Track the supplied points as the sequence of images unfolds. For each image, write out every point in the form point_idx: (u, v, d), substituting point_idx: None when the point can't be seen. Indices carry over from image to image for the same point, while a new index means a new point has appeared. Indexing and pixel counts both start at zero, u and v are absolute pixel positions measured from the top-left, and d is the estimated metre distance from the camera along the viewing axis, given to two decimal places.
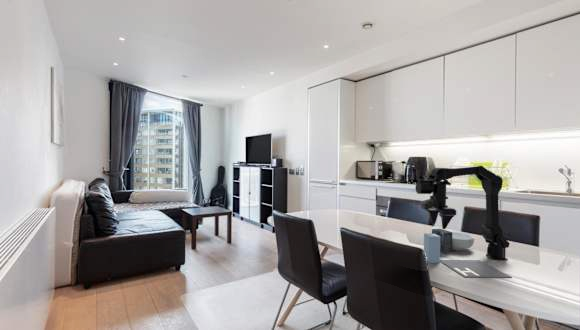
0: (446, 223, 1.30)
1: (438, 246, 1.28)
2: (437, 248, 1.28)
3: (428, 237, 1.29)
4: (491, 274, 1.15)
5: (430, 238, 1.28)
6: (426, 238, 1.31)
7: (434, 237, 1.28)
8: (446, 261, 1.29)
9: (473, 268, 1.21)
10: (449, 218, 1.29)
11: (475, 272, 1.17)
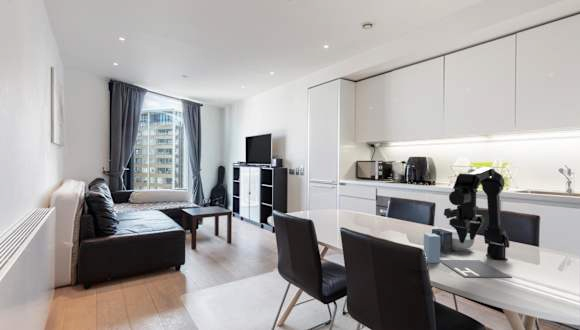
0: (462, 236, 1.13)
1: (438, 246, 1.28)
2: (437, 248, 1.28)
3: (428, 237, 1.29)
4: (491, 274, 1.15)
5: (430, 238, 1.28)
6: (426, 238, 1.31)
7: (434, 237, 1.28)
8: (446, 261, 1.29)
9: (473, 268, 1.21)
10: (464, 231, 1.12)
11: (475, 272, 1.17)
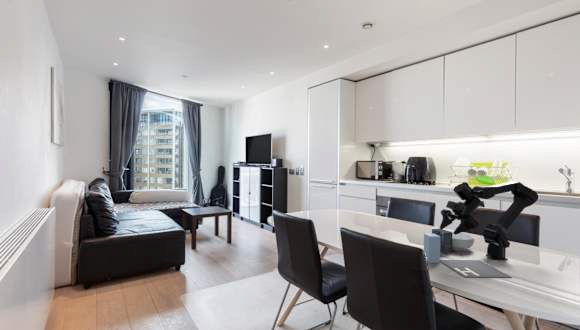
0: (460, 230, 1.26)
1: (438, 246, 1.28)
2: (437, 248, 1.28)
3: (428, 237, 1.29)
4: (491, 274, 1.15)
5: (430, 238, 1.28)
6: (426, 238, 1.31)
7: (434, 237, 1.28)
8: (446, 261, 1.29)
9: (473, 268, 1.21)
10: (466, 228, 1.26)
11: (475, 272, 1.17)
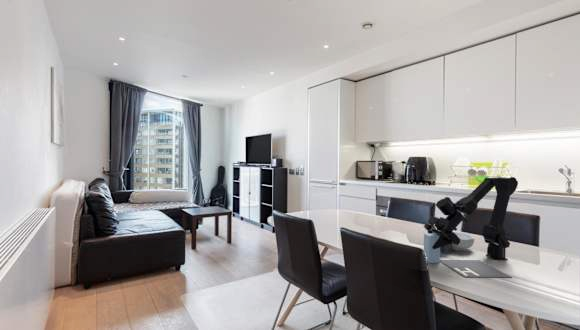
0: (439, 245, 1.27)
1: None
2: (437, 248, 1.28)
3: (428, 237, 1.29)
4: (491, 274, 1.15)
5: (430, 238, 1.28)
6: (426, 238, 1.31)
7: (434, 237, 1.28)
8: (446, 261, 1.29)
9: (473, 268, 1.21)
10: (445, 243, 1.27)
11: (475, 272, 1.17)
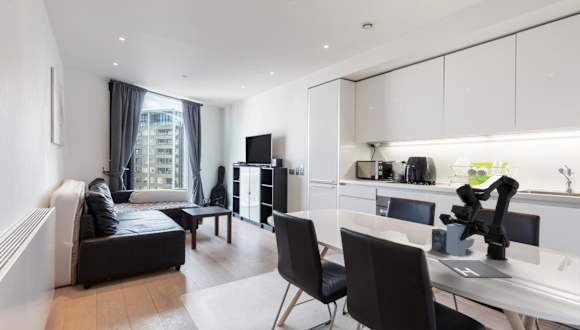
0: (466, 236, 1.18)
1: None
2: None
3: (454, 229, 1.18)
4: (491, 274, 1.15)
5: (458, 229, 1.17)
6: (451, 229, 1.20)
7: (461, 228, 1.18)
8: (446, 261, 1.29)
9: (473, 268, 1.21)
10: (471, 233, 1.18)
11: (475, 272, 1.17)
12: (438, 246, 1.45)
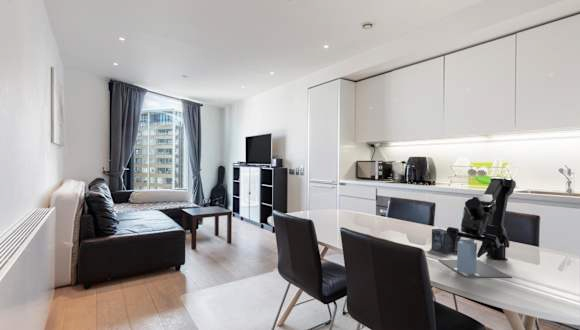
0: (483, 252, 1.13)
1: (475, 254, 1.16)
2: (475, 257, 1.16)
3: (467, 246, 1.15)
4: (491, 274, 1.15)
5: (470, 247, 1.14)
6: (463, 247, 1.16)
7: (473, 245, 1.15)
8: (446, 261, 1.29)
9: None
10: (487, 249, 1.14)
11: None
12: (438, 246, 1.45)
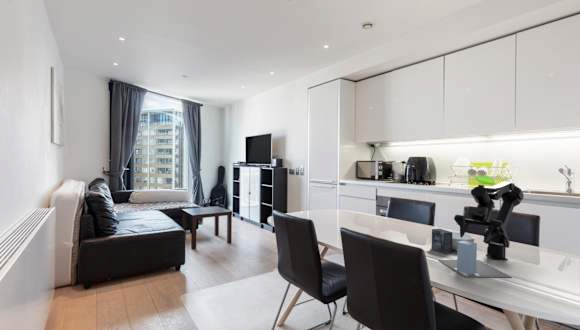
0: (489, 237, 1.19)
1: (475, 254, 1.16)
2: (475, 257, 1.16)
3: (467, 246, 1.15)
4: (491, 274, 1.15)
5: (470, 247, 1.14)
6: (463, 247, 1.16)
7: (473, 245, 1.15)
8: (446, 261, 1.29)
9: None
10: (493, 234, 1.20)
11: None
12: (438, 246, 1.45)
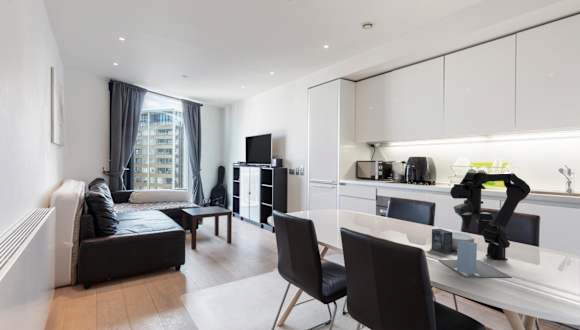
0: (482, 228, 1.28)
1: (475, 254, 1.16)
2: (475, 257, 1.16)
3: (467, 246, 1.15)
4: (491, 274, 1.15)
5: (470, 247, 1.14)
6: (463, 247, 1.16)
7: (473, 245, 1.15)
8: (446, 261, 1.29)
9: None
10: (485, 223, 1.28)
11: None
12: (438, 246, 1.45)
